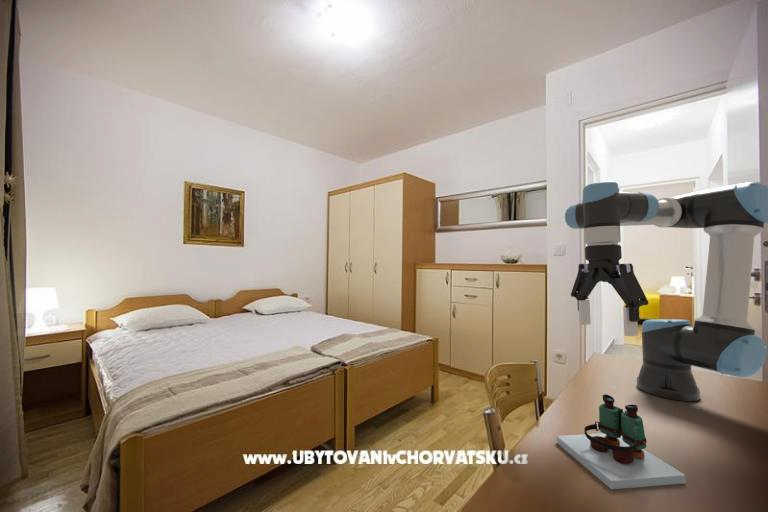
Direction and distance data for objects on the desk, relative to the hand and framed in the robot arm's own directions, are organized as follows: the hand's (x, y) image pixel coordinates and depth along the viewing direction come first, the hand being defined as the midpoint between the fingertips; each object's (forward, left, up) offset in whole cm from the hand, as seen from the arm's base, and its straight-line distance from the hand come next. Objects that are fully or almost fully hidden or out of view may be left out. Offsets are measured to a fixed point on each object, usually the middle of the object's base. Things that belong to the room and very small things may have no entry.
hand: (606, 329), depth 78 cm
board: (+9, +12, -24) cm, 29 cm away
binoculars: (+9, +12, -23) cm, 28 cm away
